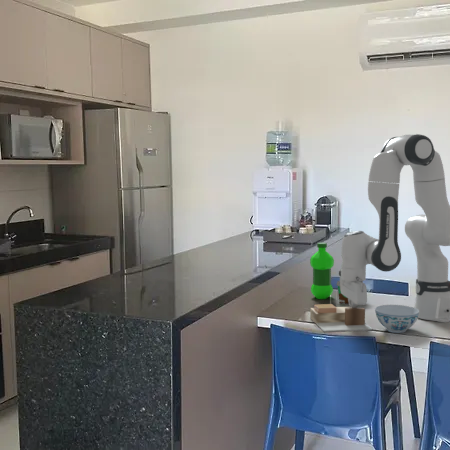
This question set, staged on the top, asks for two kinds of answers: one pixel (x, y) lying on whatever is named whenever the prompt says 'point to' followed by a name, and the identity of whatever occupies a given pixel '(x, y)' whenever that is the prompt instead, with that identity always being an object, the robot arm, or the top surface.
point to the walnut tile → (354, 316)
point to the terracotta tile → (325, 308)
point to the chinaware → (396, 317)
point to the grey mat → (342, 327)
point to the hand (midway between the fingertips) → (353, 311)
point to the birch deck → (328, 316)
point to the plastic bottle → (321, 272)
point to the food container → (341, 295)
